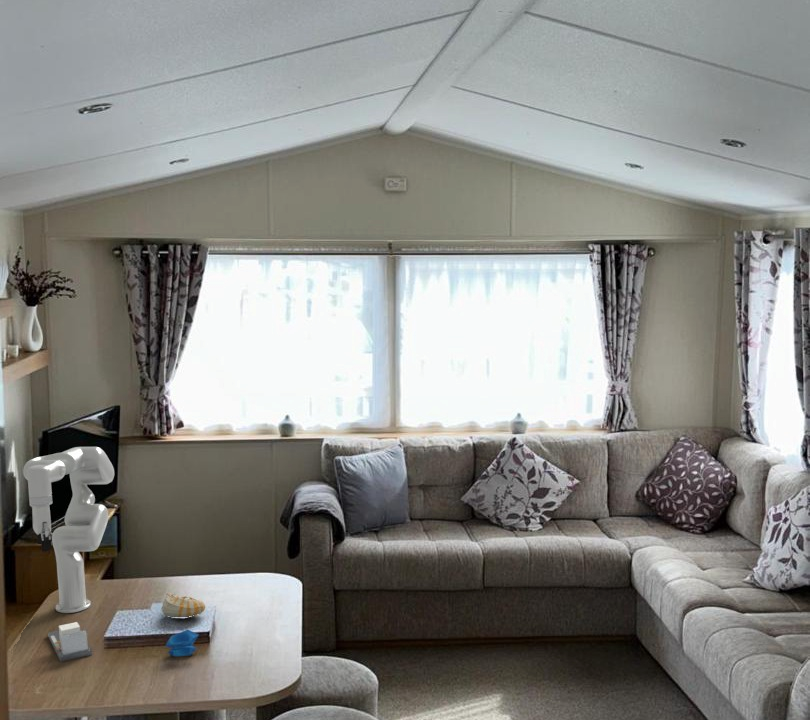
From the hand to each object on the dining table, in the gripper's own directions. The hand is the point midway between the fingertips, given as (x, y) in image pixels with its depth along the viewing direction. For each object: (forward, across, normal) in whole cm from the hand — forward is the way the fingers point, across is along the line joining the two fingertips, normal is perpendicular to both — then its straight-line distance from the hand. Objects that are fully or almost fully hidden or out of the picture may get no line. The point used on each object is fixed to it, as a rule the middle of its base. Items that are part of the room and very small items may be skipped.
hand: (44, 547), depth 337 cm
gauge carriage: (+28, +22, +2) cm, 35 cm away
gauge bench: (+30, +19, +3) cm, 36 cm away
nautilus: (+31, +14, +44) cm, 55 cm away
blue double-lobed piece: (+31, +48, +34) cm, 66 cm away
